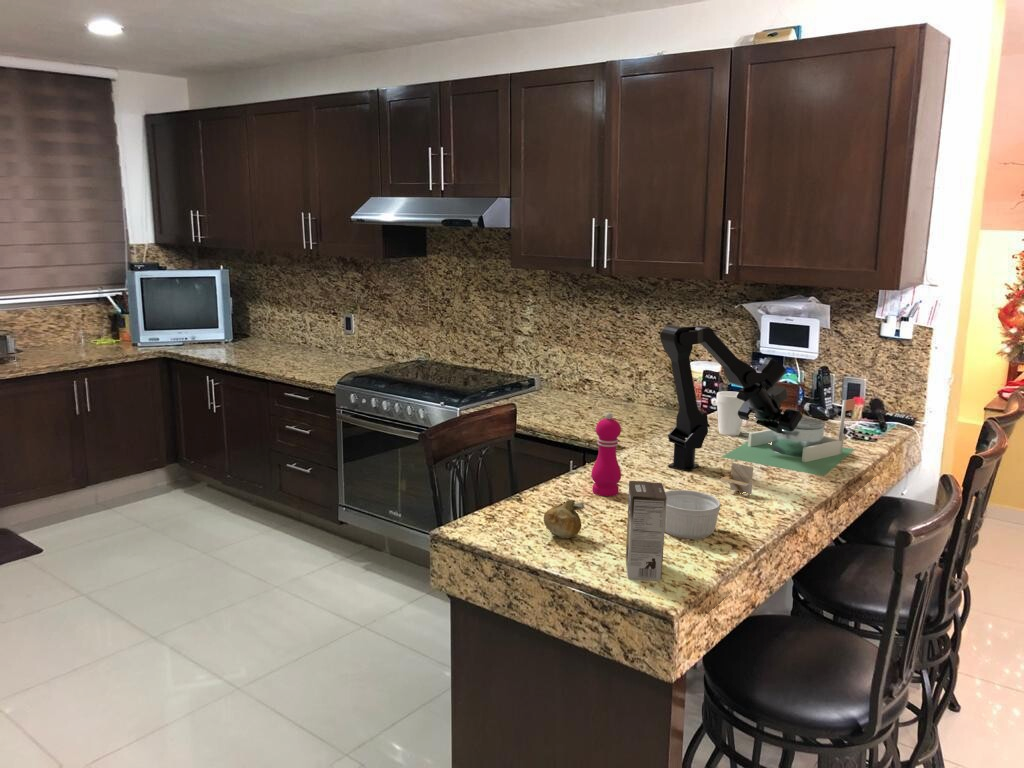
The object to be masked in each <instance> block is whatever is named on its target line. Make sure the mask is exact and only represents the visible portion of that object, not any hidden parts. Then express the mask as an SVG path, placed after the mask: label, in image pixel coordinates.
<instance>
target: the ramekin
mask: <svg viewBox="0 0 1024 768" xmlns="http://www.w3.org/2000/svg"><path fill="white" fill-rule="evenodd" d="M665 494H666V497H667V503H666V519H665V533H666V534H667V535H671V536H672V537H676V538H680V539H686V540H698V539H706V538H708V537H710V536H711V535H712V534H713V533H714V531H715V529H716V526H717V522H718V516H719V512H720V510H721V502H720V500H719V499H718V498H717V497H716V496H713V495H711V494H708V493H705V492H702V491H696V490H689V489H672V490H666V491H665Z"/></svg>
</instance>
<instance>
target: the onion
mask: <svg viewBox="0 0 1024 768" xmlns="http://www.w3.org/2000/svg"><path fill="white" fill-rule="evenodd" d="M583 509H585V502H576V500H574V499H568V500H566V501H562V502H561V503H558V504H557V505H556V504H555V506H553V507H550V508H549V509H548V510H546V511H545V513H544V515H543V523H544V526H545V527H546V528H547V530H546V531H547V532H549V533H551V535H552V536H555V537H556V538H558V539H559V538H560V539H572V538H574V537H575V536H577V535H578V534H579V532H580V531H581V528H582V521H581V518H580V516H579V514H578V513H577V511H576V510H583Z"/></svg>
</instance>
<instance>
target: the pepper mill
mask: <svg viewBox="0 0 1024 768" xmlns="http://www.w3.org/2000/svg"><path fill="white" fill-rule="evenodd" d="M604 417H605V418H602V419H601V420H599V421H598V422H597V424H596V426H595V433H596V435H597V437H598V438H597V443H596V444H597V445H598V452H597V453H598V454H597V456H596V457H597V458H596V460H595V462H594V464H593V466H592V469H591V472H590V473H591V475H590V476H591V479H592V480H593V482H594V483H593V484H592V493H593V494H594V495H596V496H601V497H613V496H614V497H615V496H617V495H618V494H619V485H618V483H619V482H620V480H621V479H622V471H621V467H620V465H619V462H618V458H617V446H618V445H619V443H618V442H619V439H618V437H619V436H620V435H621V431H622V427H621V424H620V423H619V422H618V421H617V420H616V419H613V417H614V416H613V414H612V412H607V413H606V414H605V416H604Z"/></svg>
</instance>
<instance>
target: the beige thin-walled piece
mask: <svg viewBox="0 0 1024 768" xmlns="http://www.w3.org/2000/svg"><path fill="white" fill-rule="evenodd" d="M855 404H856V398H850V399H842V406H841V415H840V423H839V424H840V425H839V434H838V438H835V437H830V436H826V435H823V444H818V445H813V446H809V447H804V448H803V455H802V462H808V461H812V460H817V459H821V458H826V457H830V456H834V455H839V454H842V447H844V446H843V444H844V439H843V438H844V430H845V429H844V428H845V419H846V412H848V411H854V410H855ZM772 441H773V430H770V429H764V430H759V431H753V432H749V433H748V439H747V442H748V446H750V447H752V446H757V445H762V444H767V443H771V442H772ZM770 449H771V450H772V451H774V450H773V449H772V446H771V447H770ZM774 452H776V451H774ZM777 453H778V452H777ZM780 454H781V453H780Z"/></svg>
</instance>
